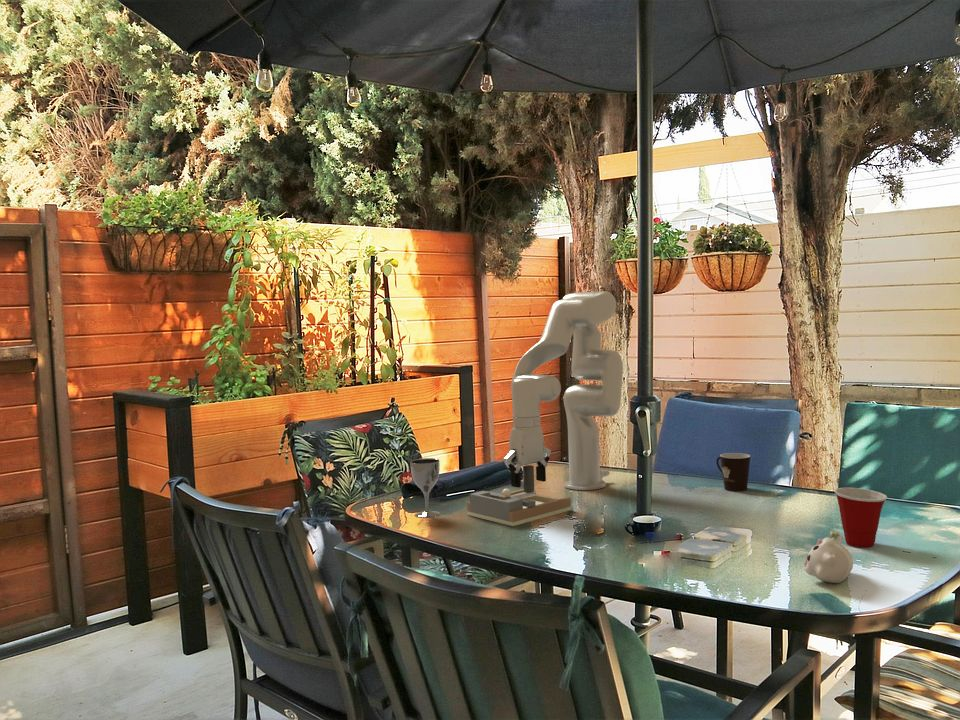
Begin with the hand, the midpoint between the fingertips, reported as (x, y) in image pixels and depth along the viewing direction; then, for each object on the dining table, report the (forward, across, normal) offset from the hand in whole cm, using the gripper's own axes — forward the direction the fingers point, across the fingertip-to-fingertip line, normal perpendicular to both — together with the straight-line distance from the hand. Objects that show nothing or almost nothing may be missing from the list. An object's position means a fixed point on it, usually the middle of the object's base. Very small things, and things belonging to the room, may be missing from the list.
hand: (528, 483), depth 229 cm
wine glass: (+7, +22, -18) cm, 29 cm away
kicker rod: (+6, +4, 0) cm, 7 cm away
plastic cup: (+7, -26, +80) cm, 84 cm away
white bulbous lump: (+8, +1, +86) cm, 86 cm away
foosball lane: (+7, +4, 0) cm, 8 cm away
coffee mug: (+8, -58, +28) cm, 65 cm away
